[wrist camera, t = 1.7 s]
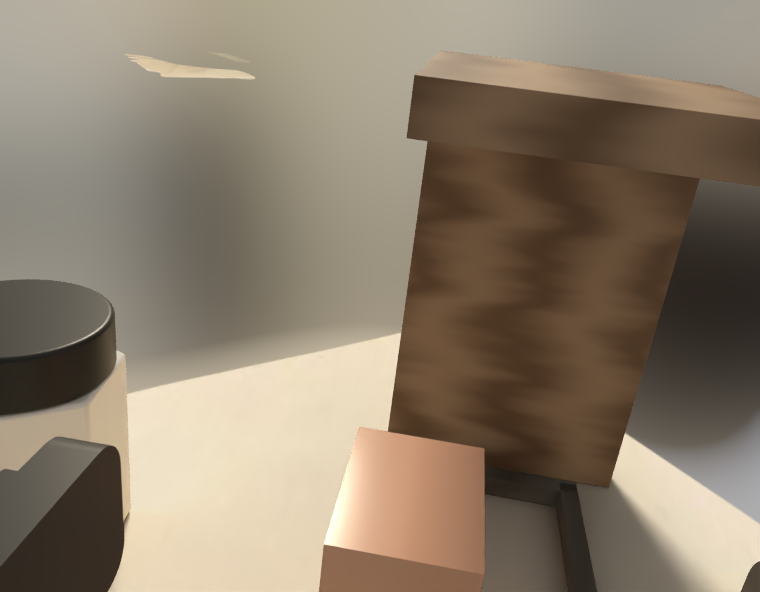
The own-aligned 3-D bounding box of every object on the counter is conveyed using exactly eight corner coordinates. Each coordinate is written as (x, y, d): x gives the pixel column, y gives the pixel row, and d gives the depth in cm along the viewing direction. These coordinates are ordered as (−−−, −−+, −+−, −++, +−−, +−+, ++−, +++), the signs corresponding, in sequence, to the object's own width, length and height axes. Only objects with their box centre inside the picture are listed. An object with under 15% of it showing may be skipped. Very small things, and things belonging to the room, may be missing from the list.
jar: (0, 468, 39) (-25, 266, 34) (147, 483, 39) (143, 284, 34) (-107, 595, 30) (-160, 352, 26) (81, 613, 31) (62, 375, 26)
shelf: (345, 627, 31) (414, 74, 22) (389, 431, 46) (442, 49, 37) (661, 689, 30) (875, 134, 21) (603, 468, 45) (714, 83, 36)
